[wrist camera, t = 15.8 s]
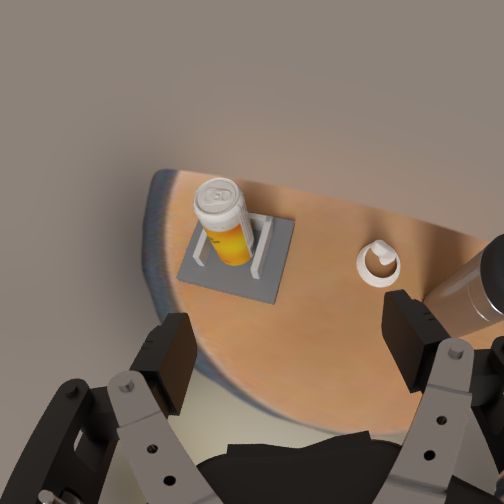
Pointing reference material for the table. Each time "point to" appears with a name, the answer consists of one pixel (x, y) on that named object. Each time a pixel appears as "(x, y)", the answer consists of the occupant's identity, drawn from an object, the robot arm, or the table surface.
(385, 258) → the hook
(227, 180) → the beer can
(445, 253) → the table surface
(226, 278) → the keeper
